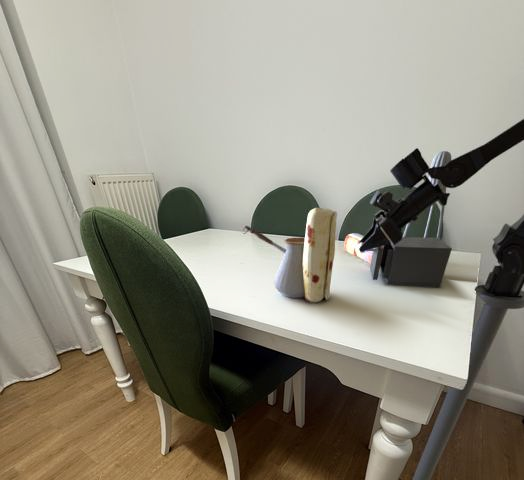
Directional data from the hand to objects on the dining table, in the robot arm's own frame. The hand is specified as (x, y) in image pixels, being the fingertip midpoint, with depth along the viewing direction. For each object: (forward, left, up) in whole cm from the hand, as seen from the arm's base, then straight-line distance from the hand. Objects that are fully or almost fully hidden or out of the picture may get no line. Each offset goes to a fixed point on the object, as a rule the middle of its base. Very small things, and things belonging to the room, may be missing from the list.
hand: (359, 247), depth 80 cm
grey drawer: (-8, 0, -7) cm, 11 cm away
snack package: (-4, -20, -8) cm, 22 cm away
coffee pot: (+20, +15, -8) cm, 26 cm away
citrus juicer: (-21, -17, -8) cm, 28 cm away
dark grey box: (-15, 0, -8) cm, 17 cm away
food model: (+10, +20, -8) cm, 24 cm away
